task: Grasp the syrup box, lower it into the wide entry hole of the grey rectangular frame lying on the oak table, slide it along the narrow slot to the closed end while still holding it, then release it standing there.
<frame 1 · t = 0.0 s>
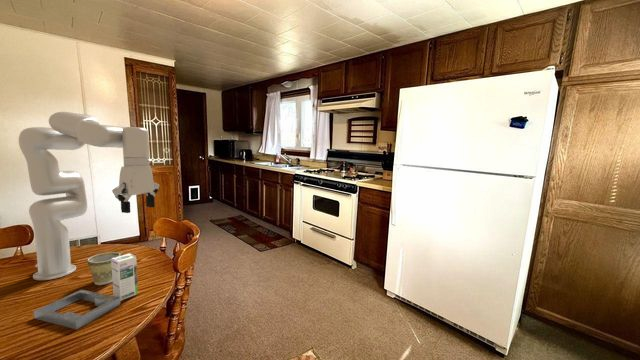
hand: (138, 209, 94), 31 cm above the table, fingers open, 9 cm apart
ceramic cup: (109, 279, 105), on the table
grey rectangular frame: (79, 311, 84), on the table
syrup box: (125, 295, 94), on the table
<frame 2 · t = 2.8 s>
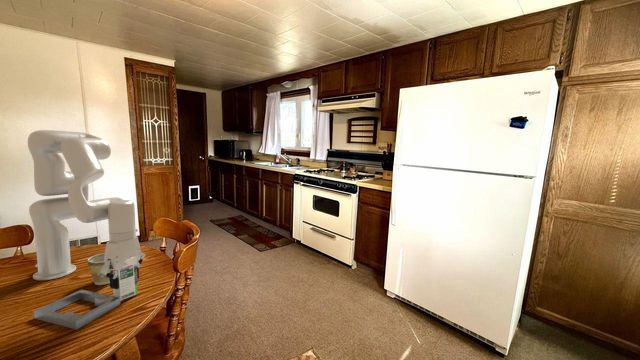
hand: (125, 282, 93), 5 cm above the table, fingers closed on syrup box, 6 cm apart
syrup box: (125, 295, 94), on the table, touching gripper
everything else where it was.
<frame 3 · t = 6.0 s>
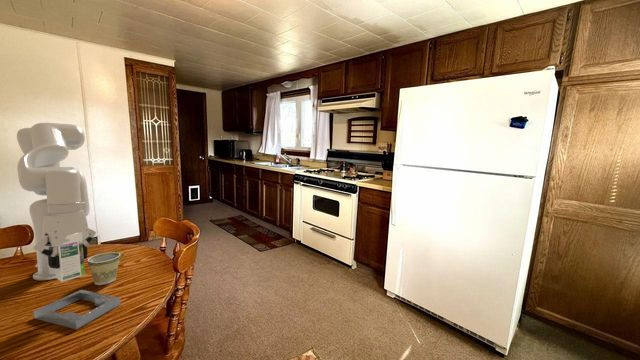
hand: (69, 262, 83), 16 cm above the table, fingers closed on syrup box, 6 cm apart
syrup box: (70, 277, 83), point 11 cm above the table, touching gripper
everything else where it was.
when the fingers open (6 cm above the table, at t = 9.2 s): syrup box stays where it is, resting in grey rectangular frame.
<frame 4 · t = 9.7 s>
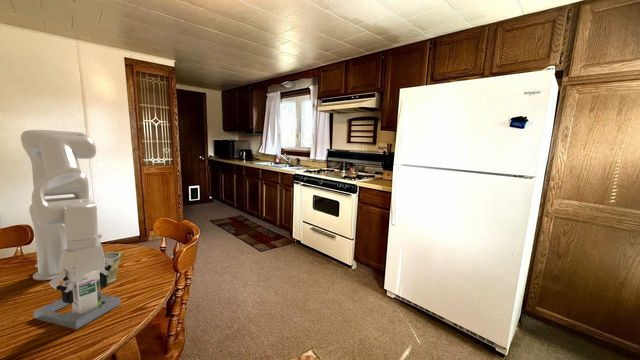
hand: (86, 294, 83), 6 cm above the table, fingers open, 9 cm apart
syrup box: (87, 313, 83), resting in grey rectangular frame
everything else where it was.
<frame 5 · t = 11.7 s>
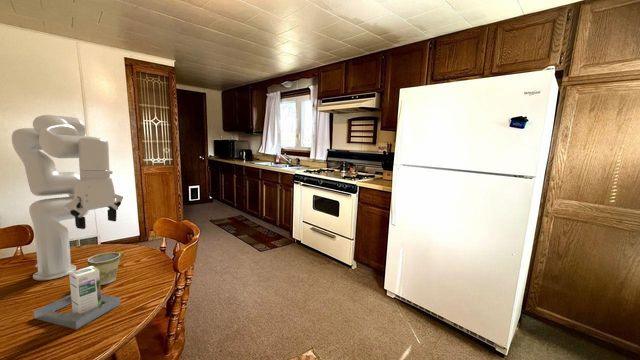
hand: (97, 224, 88), 27 cm above the table, fingers open, 9 cm apart
nothing on the table moved.
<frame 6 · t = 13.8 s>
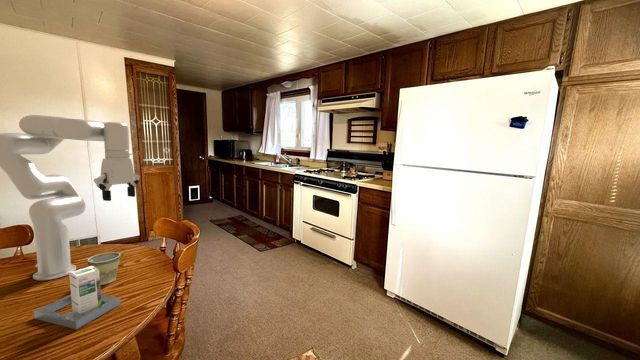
hand: (119, 198, 102), 33 cm above the table, fingers open, 9 cm apart
nothing on the table moved.
at the end: syrup box 0.6 cm from the target spot, resting in grey rectangular frame; syrup box tilted 0°; the gripper is holding nothing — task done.
